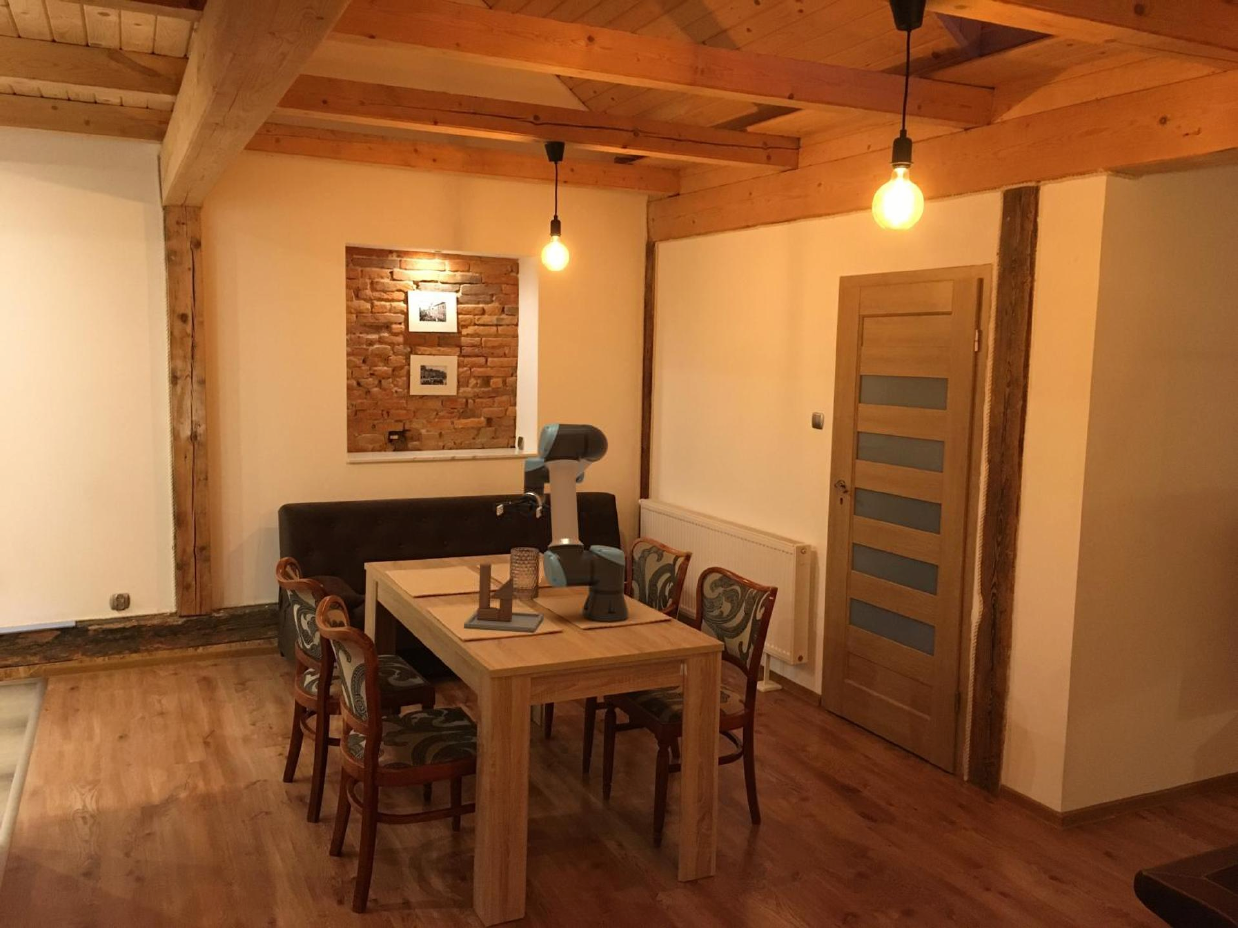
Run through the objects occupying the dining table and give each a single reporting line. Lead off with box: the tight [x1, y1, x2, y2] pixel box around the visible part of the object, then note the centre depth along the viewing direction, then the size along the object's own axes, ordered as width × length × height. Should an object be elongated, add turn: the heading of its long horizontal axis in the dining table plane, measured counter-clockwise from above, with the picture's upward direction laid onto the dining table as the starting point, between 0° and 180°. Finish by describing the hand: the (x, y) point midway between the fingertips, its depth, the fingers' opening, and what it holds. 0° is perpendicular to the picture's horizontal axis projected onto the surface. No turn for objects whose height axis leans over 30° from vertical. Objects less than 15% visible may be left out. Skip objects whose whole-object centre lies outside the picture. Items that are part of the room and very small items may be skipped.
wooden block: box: [476, 562, 514, 622], centre depth 338 cm, size 4×11×18 cm, turn 84°
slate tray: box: [463, 609, 544, 633], centre depth 338 cm, size 22×18×2 cm
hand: (517, 512), depth 359 cm, fingers open, 13 cm apart
